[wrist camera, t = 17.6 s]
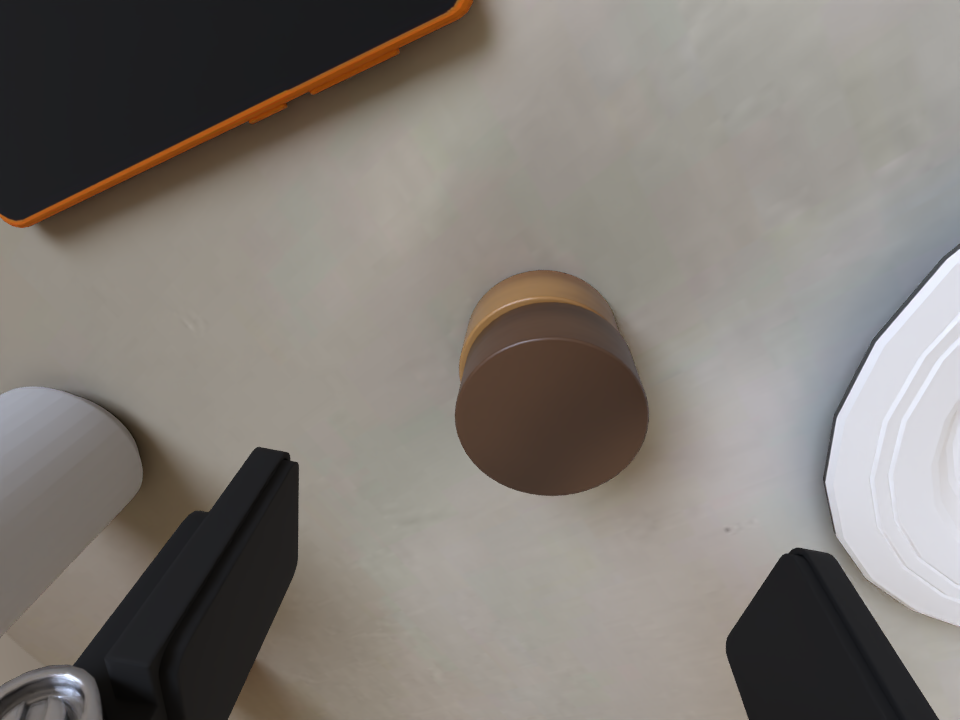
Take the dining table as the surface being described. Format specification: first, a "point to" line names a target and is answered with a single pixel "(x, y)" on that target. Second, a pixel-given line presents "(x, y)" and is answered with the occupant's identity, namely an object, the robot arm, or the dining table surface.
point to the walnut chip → (551, 400)
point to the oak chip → (532, 300)
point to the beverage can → (56, 487)
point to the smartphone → (167, 79)
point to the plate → (905, 452)
